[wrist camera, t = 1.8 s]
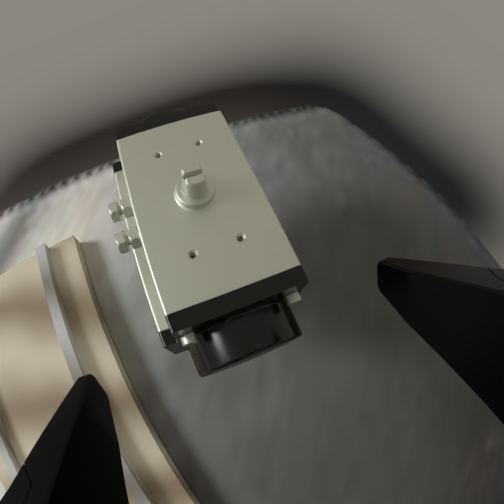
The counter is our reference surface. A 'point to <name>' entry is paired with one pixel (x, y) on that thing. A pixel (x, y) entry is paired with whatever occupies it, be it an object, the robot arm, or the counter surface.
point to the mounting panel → (70, 371)
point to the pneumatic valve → (205, 239)
